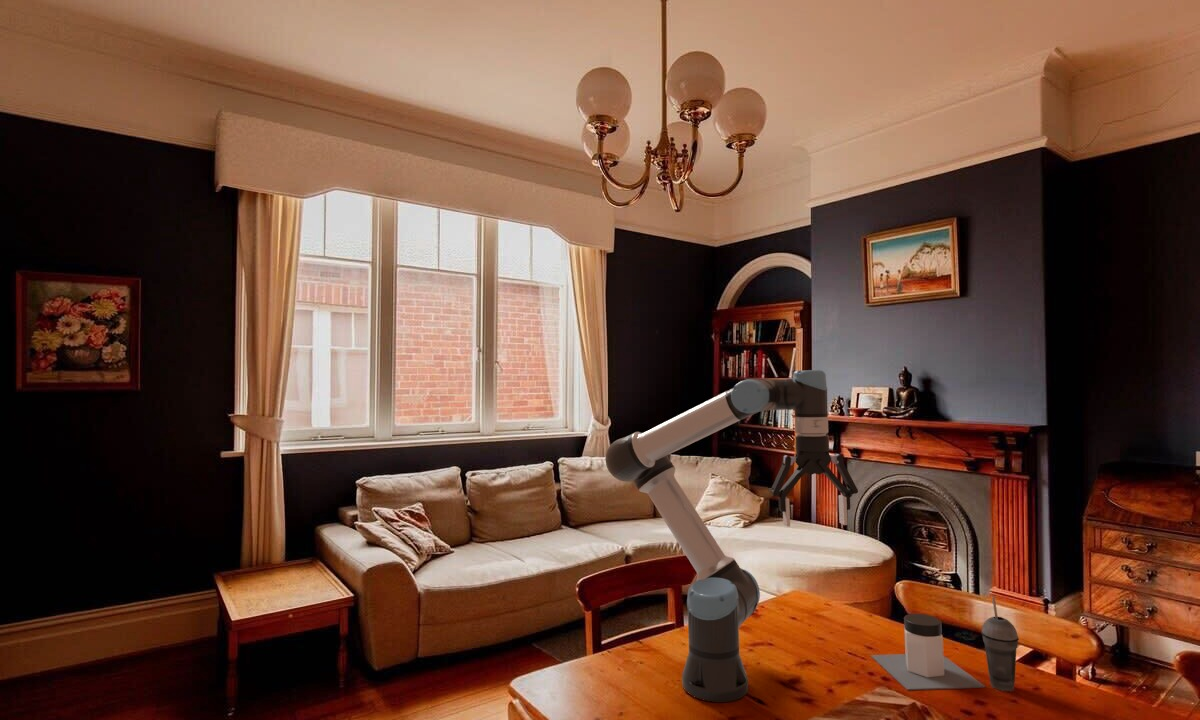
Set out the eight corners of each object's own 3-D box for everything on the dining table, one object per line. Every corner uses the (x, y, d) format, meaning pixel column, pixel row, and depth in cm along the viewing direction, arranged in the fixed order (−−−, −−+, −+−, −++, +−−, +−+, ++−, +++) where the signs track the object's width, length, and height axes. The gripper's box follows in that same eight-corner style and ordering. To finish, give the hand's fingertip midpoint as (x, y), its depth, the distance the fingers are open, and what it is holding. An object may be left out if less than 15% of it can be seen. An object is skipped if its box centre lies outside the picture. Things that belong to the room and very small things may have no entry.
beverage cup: (1003, 696, 138) (999, 604, 139) (975, 682, 145) (971, 594, 146) (1029, 691, 140) (1024, 601, 141) (1000, 677, 147) (996, 591, 148)
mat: (907, 690, 142) (907, 689, 142) (870, 656, 160) (870, 655, 160) (985, 687, 143) (985, 686, 143) (939, 654, 161) (939, 652, 161)
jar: (951, 670, 150) (949, 620, 151) (936, 681, 145) (934, 629, 146) (913, 658, 157) (911, 610, 158) (898, 668, 152) (896, 618, 153)
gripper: (764, 437, 145) (767, 529, 144) (870, 434, 146) (874, 526, 145) (755, 434, 152) (758, 522, 152) (856, 432, 153) (859, 519, 152)
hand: (815, 524), depth 148 cm, fingers open, 13 cm apart
